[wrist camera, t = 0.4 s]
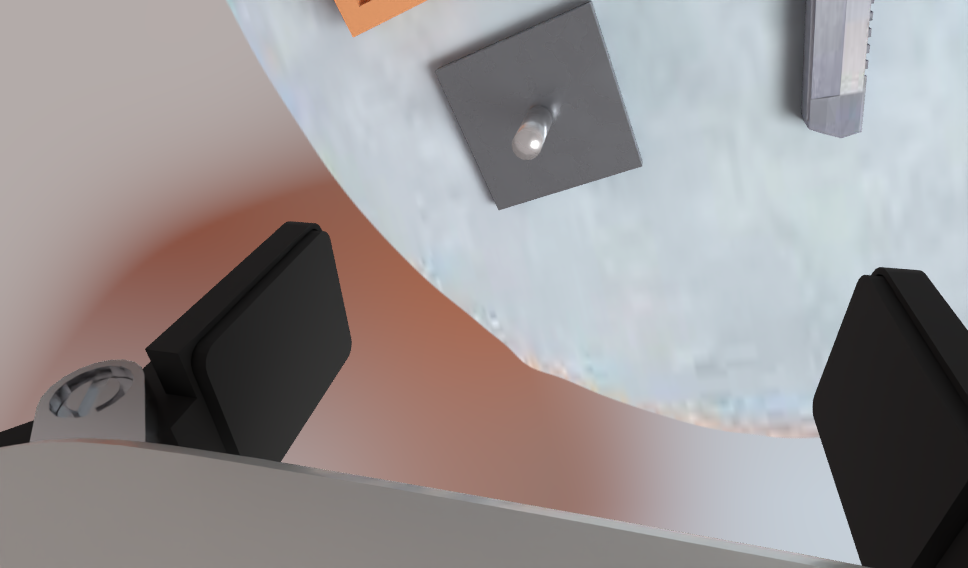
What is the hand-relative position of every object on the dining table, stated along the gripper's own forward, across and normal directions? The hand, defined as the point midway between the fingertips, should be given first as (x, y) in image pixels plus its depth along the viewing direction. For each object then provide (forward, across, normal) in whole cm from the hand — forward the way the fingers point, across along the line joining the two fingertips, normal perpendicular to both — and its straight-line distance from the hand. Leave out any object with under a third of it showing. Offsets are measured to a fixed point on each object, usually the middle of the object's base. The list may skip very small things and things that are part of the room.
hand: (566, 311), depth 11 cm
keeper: (+35, +5, +7) cm, 36 cm away
